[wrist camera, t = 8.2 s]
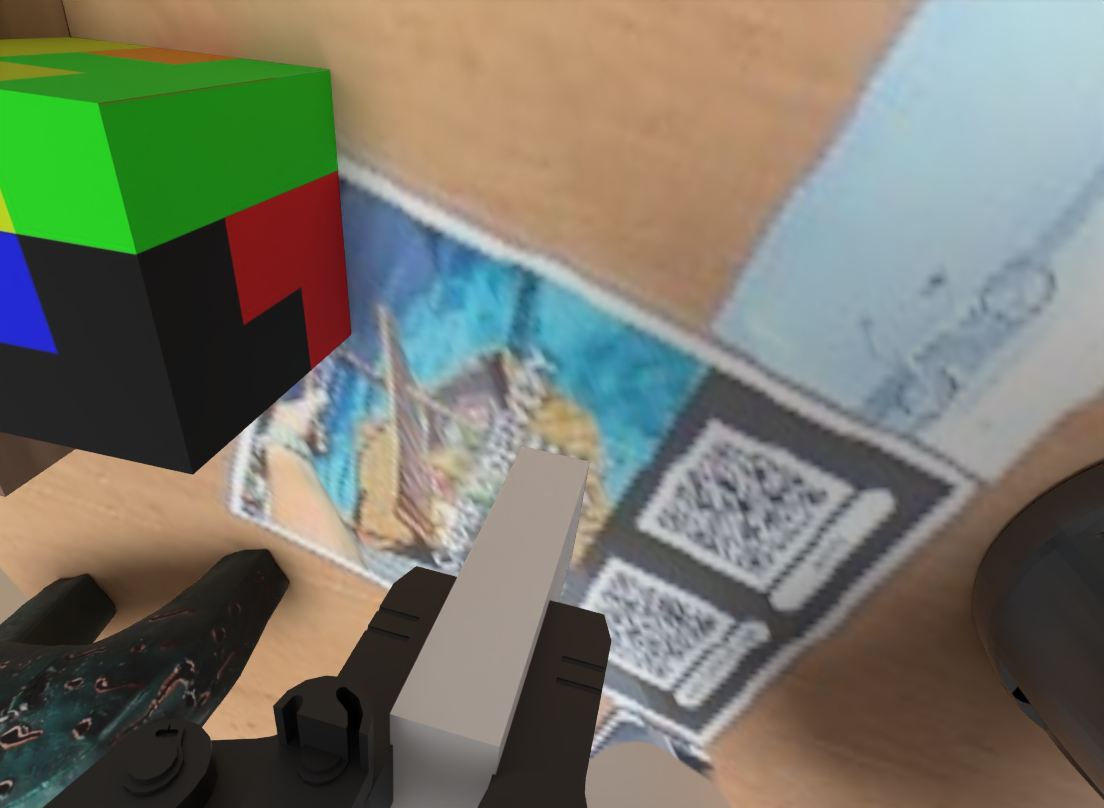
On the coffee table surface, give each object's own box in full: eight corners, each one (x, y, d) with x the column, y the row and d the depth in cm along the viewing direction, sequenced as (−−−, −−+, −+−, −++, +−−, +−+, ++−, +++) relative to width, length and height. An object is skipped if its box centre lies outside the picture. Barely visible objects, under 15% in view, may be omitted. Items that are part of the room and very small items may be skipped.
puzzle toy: (140, 295, 29) (-96, 411, 20) (73, 36, 24) (-283, 49, 15) (351, 334, 27) (193, 474, 19) (330, 69, 22) (98, 103, 14)
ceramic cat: (83, 629, 44) (-305, 1008, 27) (18, 558, 41) (-457, 931, 25) (317, 603, 37) (-8, 1087, 20) (257, 516, 35) (-173, 992, 18)
